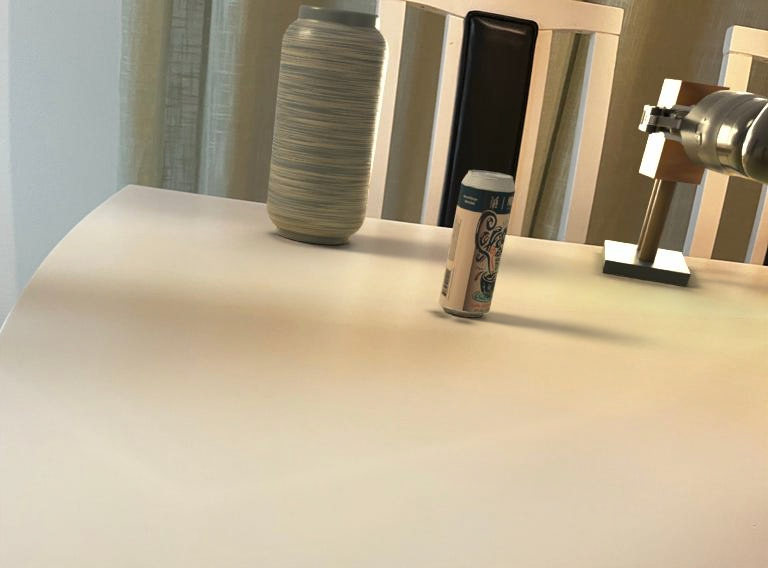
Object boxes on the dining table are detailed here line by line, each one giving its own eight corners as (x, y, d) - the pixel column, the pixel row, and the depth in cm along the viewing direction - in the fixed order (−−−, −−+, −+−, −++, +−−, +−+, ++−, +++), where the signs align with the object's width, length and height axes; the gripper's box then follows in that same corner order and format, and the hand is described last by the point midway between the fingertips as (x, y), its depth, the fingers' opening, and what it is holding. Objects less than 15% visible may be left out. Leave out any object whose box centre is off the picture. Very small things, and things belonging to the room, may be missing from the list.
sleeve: (683, 178, 121) (711, 85, 116) (700, 185, 117) (730, 87, 111) (638, 172, 121) (664, 78, 116) (653, 178, 116) (681, 80, 111)
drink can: (476, 321, 92) (506, 180, 86) (429, 310, 94) (455, 170, 88) (495, 314, 96) (525, 177, 89) (450, 302, 98) (476, 168, 91)
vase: (306, 249, 112) (335, 8, 100) (244, 227, 119) (264, -1, 107) (381, 246, 119) (416, 20, 107) (318, 225, 126) (344, 11, 114)
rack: (678, 264, 133) (712, 152, 126) (686, 287, 119) (725, 162, 112) (602, 251, 134) (631, 140, 127) (602, 272, 121) (634, 149, 114)
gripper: (814, 102, 102) (747, 92, 116) (678, 82, 101) (627, 75, 115) (787, 182, 106) (725, 163, 120) (655, 164, 105) (609, 147, 119)
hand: (677, 120), depth 118 cm, fingers closed on sleeve, 5 cm apart
